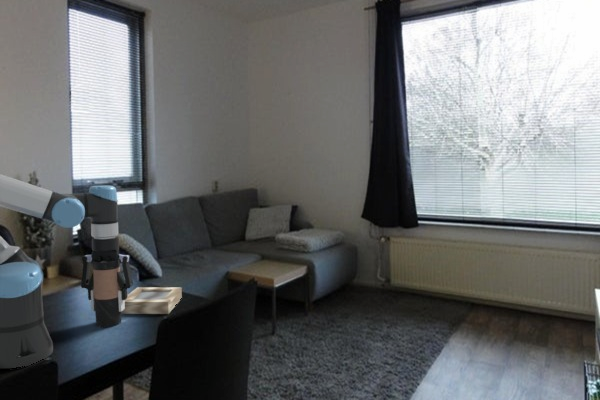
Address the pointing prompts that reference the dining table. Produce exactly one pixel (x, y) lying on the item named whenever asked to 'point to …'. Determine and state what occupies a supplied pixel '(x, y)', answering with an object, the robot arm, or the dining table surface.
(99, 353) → the dining table surface
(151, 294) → the display stand
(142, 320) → the dining table surface
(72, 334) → the dining table surface
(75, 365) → the dining table surface
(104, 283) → the travel mug
